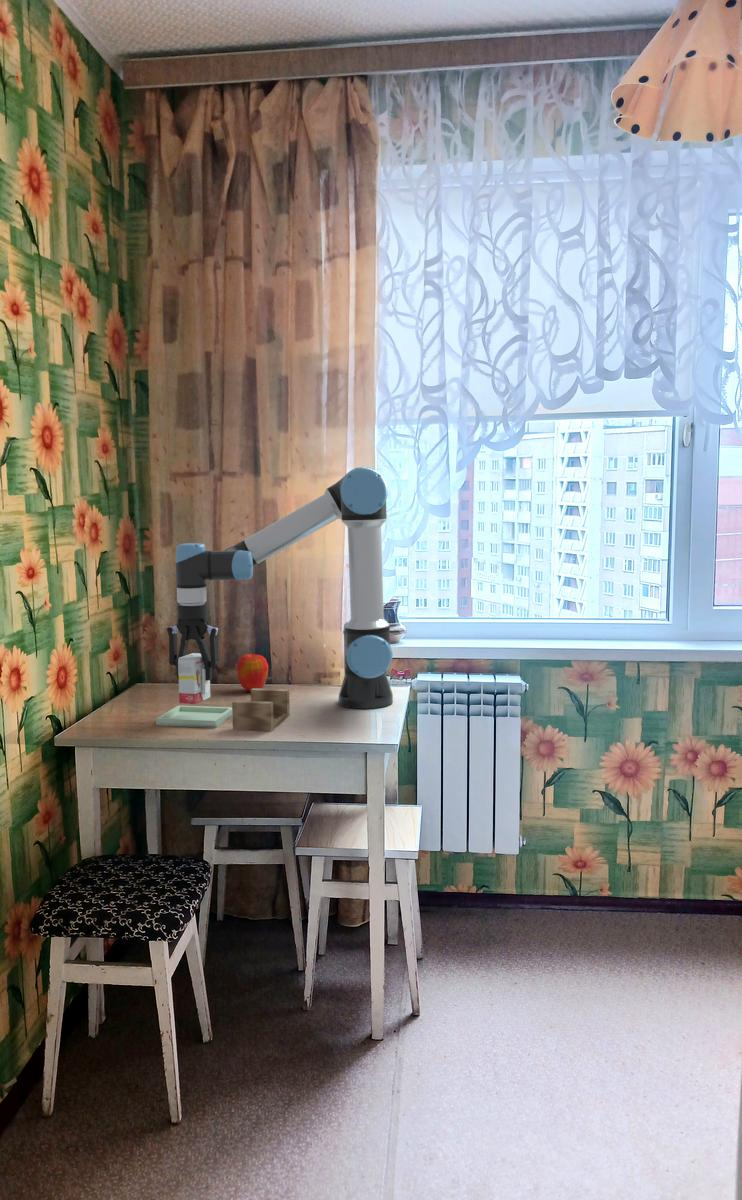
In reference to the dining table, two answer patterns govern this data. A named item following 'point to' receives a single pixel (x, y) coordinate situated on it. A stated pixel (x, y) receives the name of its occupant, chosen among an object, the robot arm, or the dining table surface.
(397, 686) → the dining table surface
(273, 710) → the holder
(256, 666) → the apple
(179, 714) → the tray
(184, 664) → the ink box
